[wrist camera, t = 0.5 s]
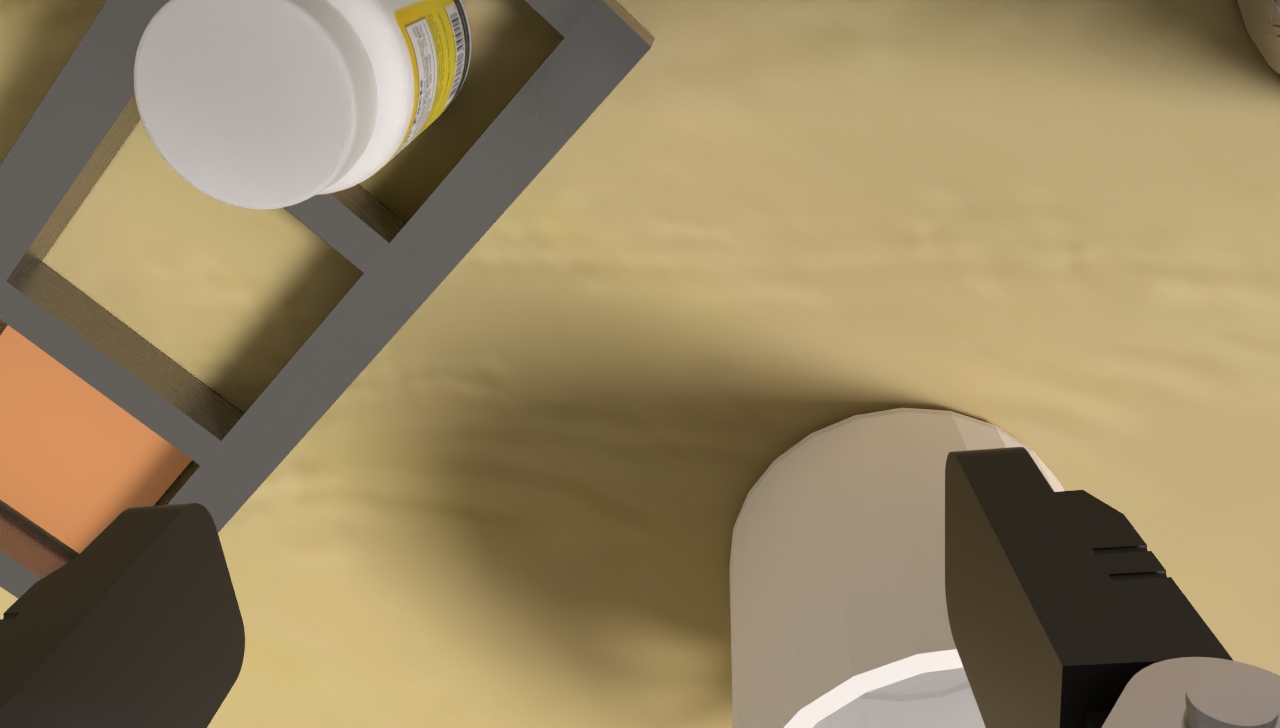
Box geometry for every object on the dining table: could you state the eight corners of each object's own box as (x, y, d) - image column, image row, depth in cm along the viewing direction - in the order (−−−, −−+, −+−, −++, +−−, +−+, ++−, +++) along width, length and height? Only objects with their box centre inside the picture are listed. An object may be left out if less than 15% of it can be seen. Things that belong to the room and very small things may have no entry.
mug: (771, 372, 29) (797, 602, 20) (1124, 439, 29) (1315, 697, 20) (684, 715, 34) (672, 1025, 25) (984, 770, 35) (1084, 1098, 25)
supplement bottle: (245, 12, 26) (51, 64, 18) (386, -112, 25) (239, -110, 17) (374, 169, 28) (243, 278, 20) (514, 61, 26) (431, 133, 18)
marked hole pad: (27, 302, 30) (20, 306, 29) (210, 438, 31) (205, 443, 31) (-71, 441, 32) (-78, 446, 32) (105, 562, 33) (100, 568, 33)
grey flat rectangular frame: (322, -282, 23) (296, -293, 22) (654, 37, 26) (650, 47, 24) (-149, 434, 32) (-190, 460, 30) (132, 624, 34) (106, 657, 33)
